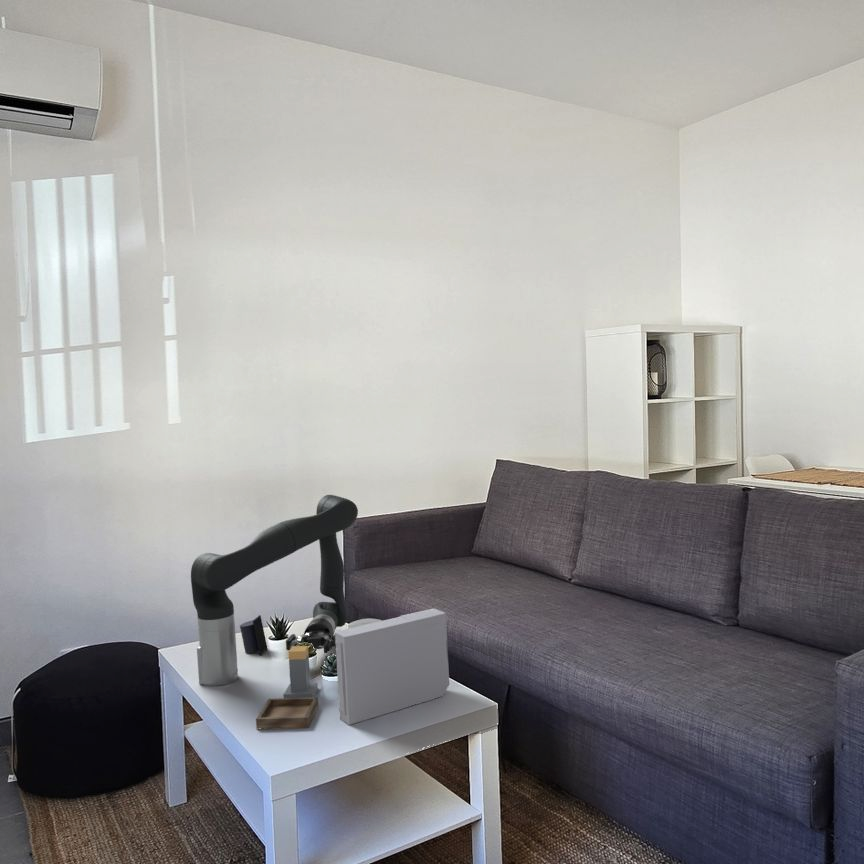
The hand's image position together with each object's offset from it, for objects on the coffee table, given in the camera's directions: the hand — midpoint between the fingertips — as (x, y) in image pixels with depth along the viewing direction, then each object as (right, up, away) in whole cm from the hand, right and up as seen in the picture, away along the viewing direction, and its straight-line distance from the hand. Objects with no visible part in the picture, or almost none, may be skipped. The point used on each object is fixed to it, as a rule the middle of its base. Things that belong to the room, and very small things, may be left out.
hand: (308, 650), depth 205 cm
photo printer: (+15, -6, +8) cm, 18 cm away
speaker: (-20, -7, +24) cm, 32 cm away
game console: (+23, -7, -21) cm, 32 cm away
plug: (0, -8, -11) cm, 13 cm away
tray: (-1, -8, -25) cm, 26 cm away
